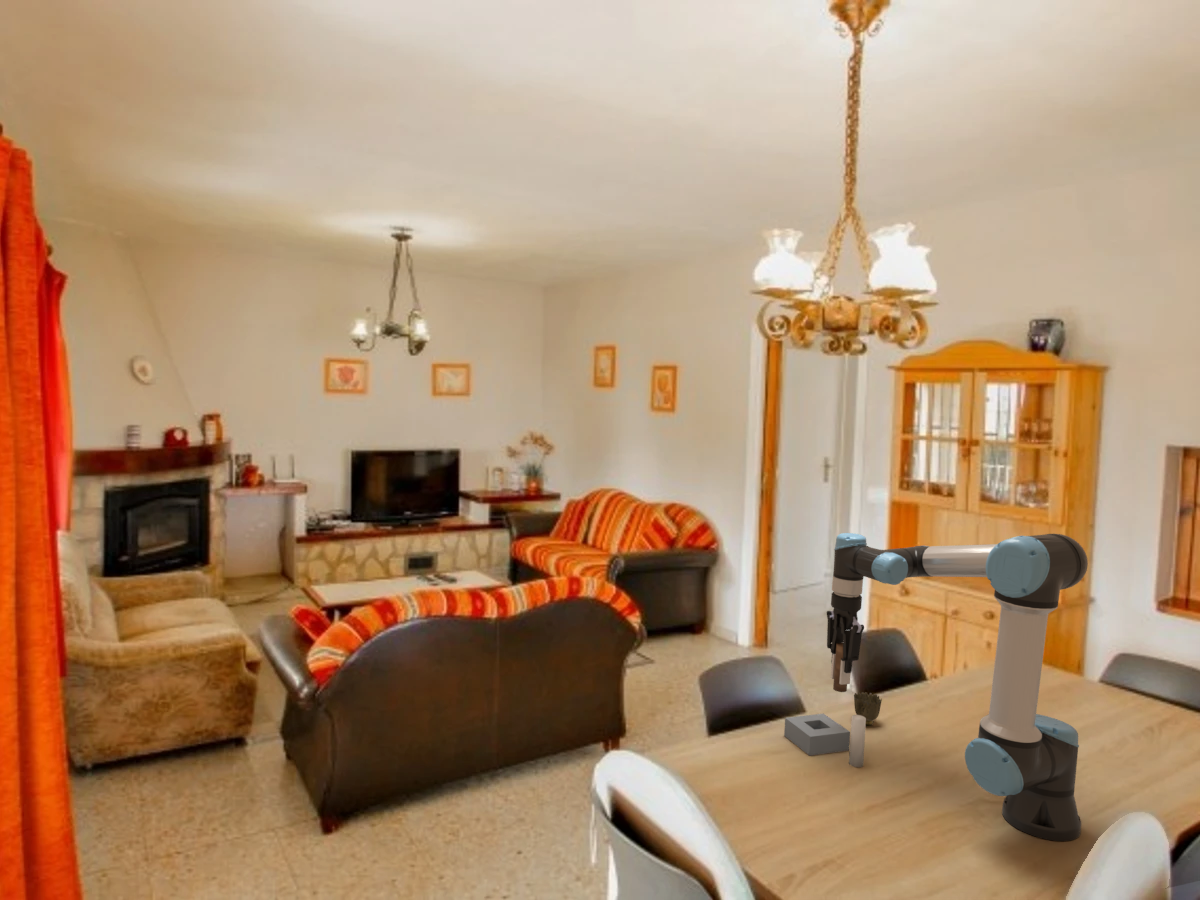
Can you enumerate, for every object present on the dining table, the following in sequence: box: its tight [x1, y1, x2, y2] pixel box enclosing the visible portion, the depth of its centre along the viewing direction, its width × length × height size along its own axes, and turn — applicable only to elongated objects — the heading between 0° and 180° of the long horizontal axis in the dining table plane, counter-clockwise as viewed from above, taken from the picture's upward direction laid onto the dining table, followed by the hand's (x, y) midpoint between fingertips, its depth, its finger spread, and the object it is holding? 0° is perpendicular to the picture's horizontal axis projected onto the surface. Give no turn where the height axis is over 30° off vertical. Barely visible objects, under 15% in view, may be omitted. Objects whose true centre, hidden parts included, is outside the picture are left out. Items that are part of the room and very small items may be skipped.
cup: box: [853, 691, 883, 727], centre depth 224 cm, size 8×7×8 cm
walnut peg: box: [832, 643, 848, 693], centre depth 208 cm, size 3×3×12 cm
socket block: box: [783, 713, 851, 757], centre depth 211 cm, size 12×12×5 cm
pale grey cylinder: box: [848, 714, 867, 768], centre depth 199 cm, size 3×3×12 cm
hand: (840, 680), depth 208 cm, fingers closed on walnut peg, 3 cm apart
